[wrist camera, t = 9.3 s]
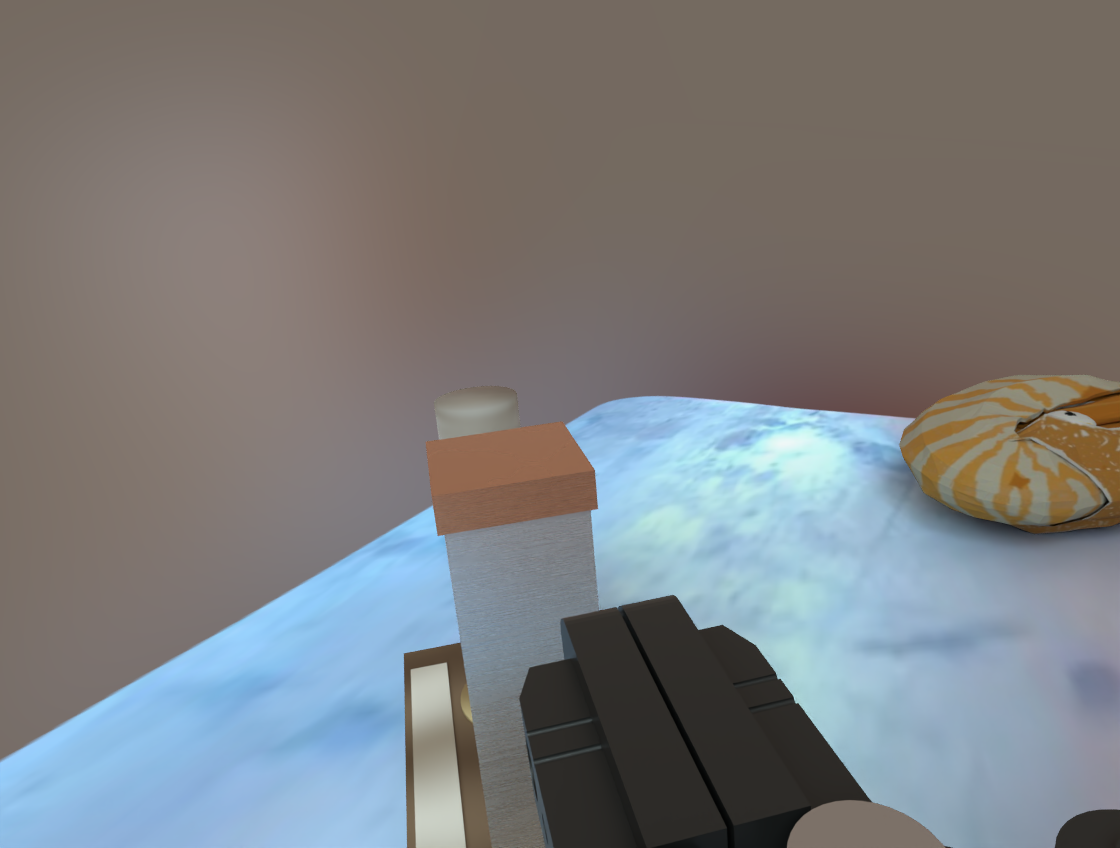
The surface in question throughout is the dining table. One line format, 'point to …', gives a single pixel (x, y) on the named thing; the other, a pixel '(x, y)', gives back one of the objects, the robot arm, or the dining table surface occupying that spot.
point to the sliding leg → (513, 587)
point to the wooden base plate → (449, 684)
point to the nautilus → (1023, 452)
